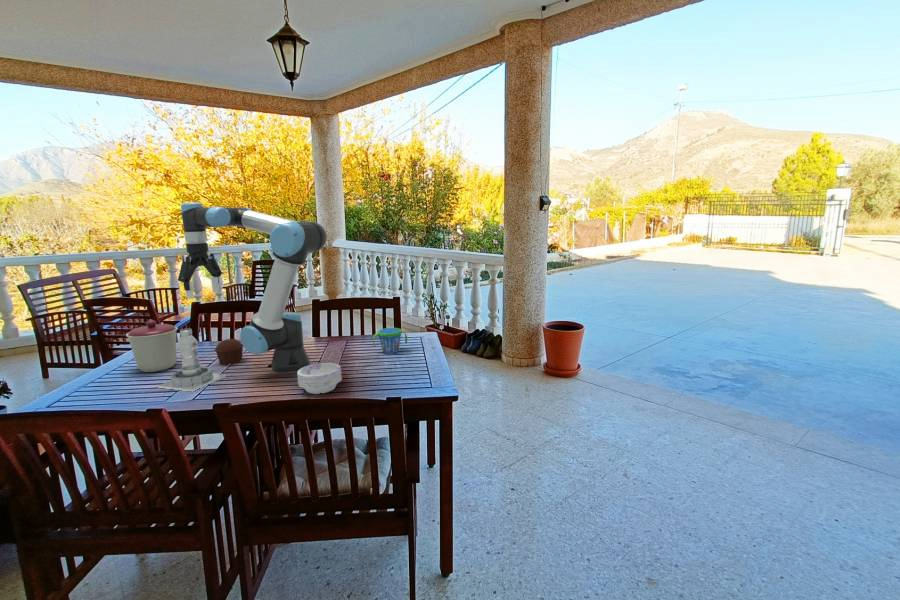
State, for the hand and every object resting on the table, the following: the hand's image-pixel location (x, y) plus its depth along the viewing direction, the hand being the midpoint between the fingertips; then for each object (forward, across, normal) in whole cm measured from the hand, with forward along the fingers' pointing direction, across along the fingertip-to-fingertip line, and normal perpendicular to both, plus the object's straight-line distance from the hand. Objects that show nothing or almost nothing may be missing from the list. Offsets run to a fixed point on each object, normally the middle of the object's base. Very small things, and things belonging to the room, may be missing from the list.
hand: (203, 295), depth 179 cm
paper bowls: (+32, +11, +56) cm, 66 cm away
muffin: (+32, -10, 0) cm, 33 cm away
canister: (+32, +3, -26) cm, 41 cm away
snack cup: (+32, -36, +65) cm, 81 cm away
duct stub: (+31, +14, +3) cm, 35 cm away
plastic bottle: (+31, +14, +3) cm, 34 cm away
